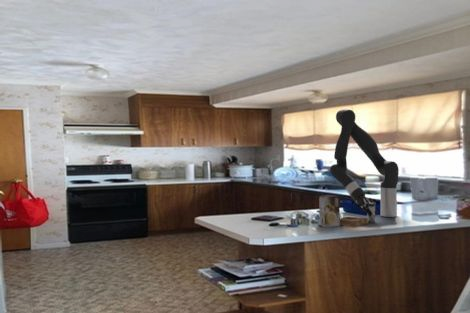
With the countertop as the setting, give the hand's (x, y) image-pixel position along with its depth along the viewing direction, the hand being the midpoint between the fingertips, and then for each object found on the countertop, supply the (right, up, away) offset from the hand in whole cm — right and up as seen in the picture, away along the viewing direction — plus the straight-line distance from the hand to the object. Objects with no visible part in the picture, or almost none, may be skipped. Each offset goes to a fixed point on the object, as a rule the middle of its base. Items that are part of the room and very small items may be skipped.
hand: (374, 214), depth 253 cm
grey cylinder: (-1, -5, +2) cm, 5 cm away
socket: (-14, -5, -2) cm, 15 cm away
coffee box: (-26, -5, -8) cm, 28 cm away
